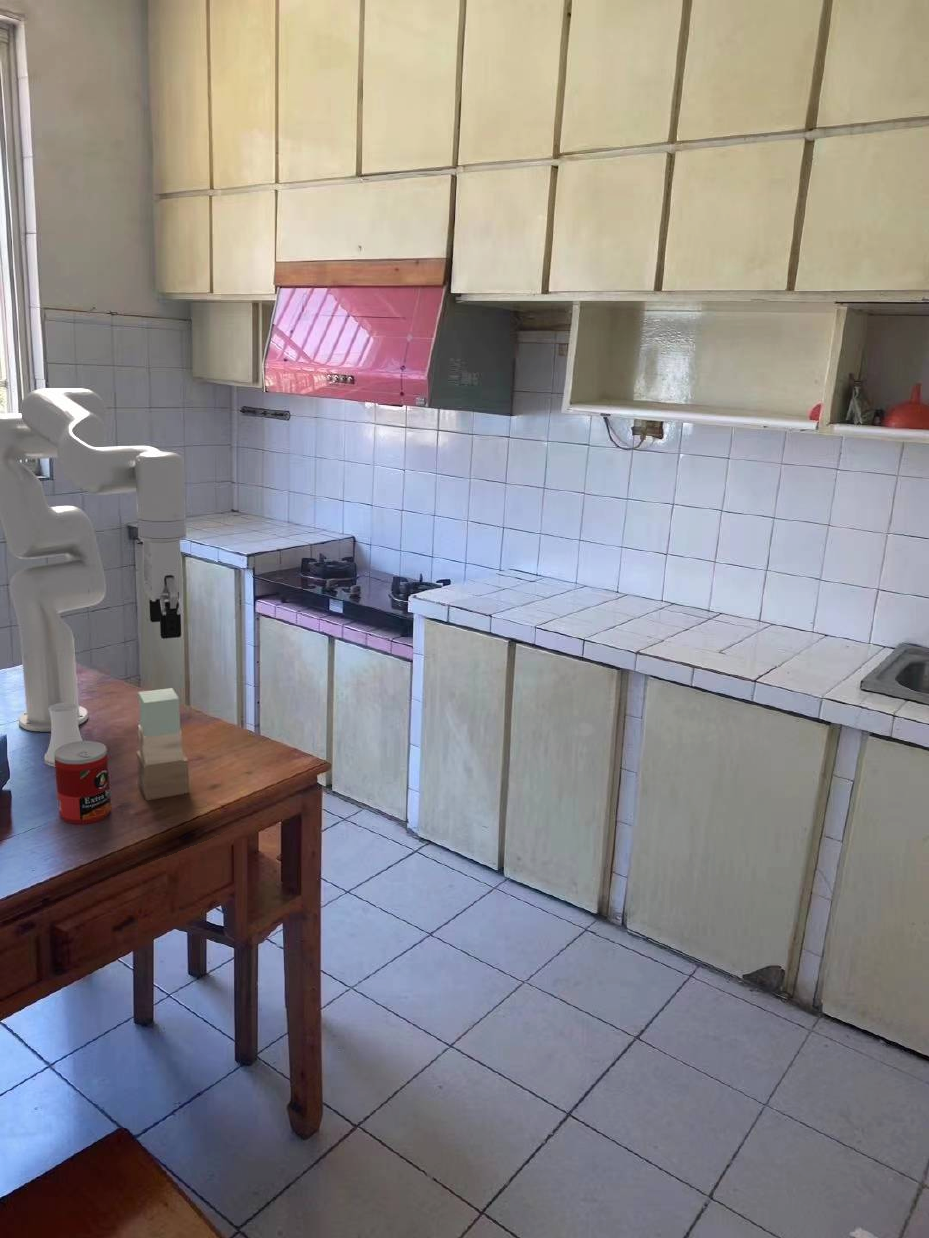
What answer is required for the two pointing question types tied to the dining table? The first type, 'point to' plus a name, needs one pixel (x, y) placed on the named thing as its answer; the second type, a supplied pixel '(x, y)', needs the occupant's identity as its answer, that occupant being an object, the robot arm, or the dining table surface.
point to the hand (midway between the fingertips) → (165, 629)
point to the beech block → (160, 748)
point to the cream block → (163, 778)
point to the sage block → (159, 712)
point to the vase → (62, 728)
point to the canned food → (82, 781)
